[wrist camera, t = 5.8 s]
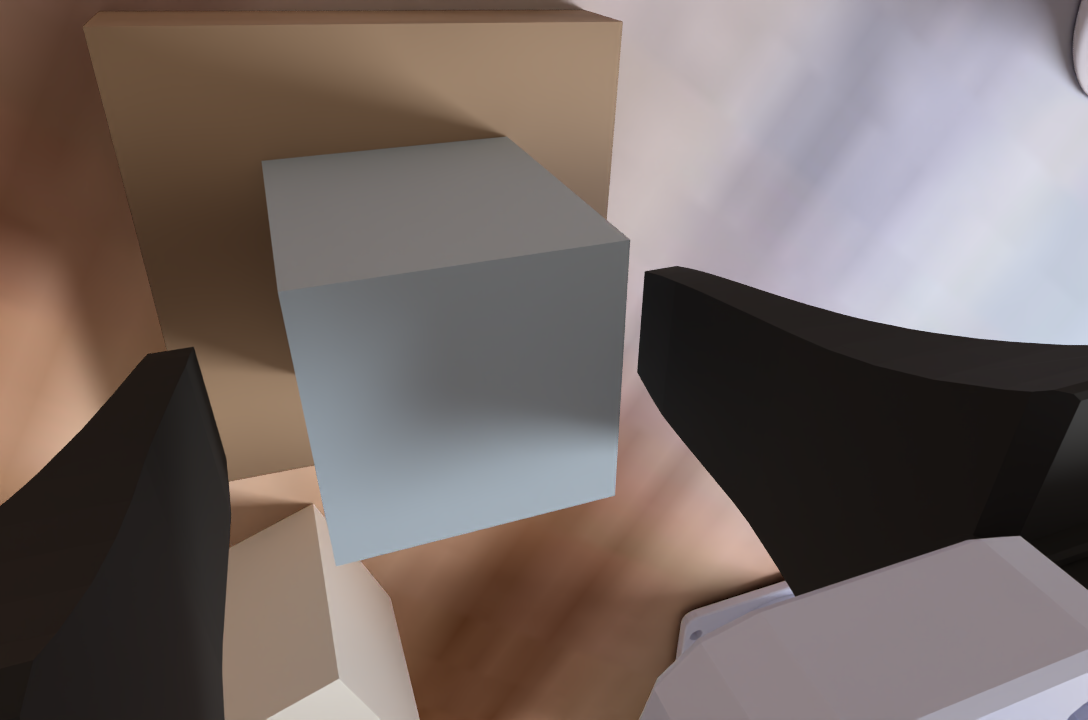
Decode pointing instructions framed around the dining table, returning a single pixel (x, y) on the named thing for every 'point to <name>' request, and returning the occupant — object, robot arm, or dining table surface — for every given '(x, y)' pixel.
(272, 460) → the brown block
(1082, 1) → the beer glass
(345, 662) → the cream block
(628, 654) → the dining table surface
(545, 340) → the slate block
